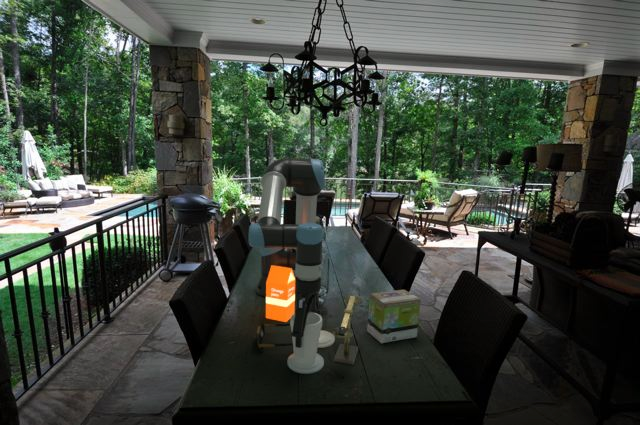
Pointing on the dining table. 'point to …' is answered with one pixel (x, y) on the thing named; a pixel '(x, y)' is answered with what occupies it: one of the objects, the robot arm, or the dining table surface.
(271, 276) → the orange juice
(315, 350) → the foam cup
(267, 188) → the robot arm
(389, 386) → the dining table surface
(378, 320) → the tea box
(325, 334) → the dish high
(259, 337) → the sunglasses
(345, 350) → the balance
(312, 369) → the dish low
